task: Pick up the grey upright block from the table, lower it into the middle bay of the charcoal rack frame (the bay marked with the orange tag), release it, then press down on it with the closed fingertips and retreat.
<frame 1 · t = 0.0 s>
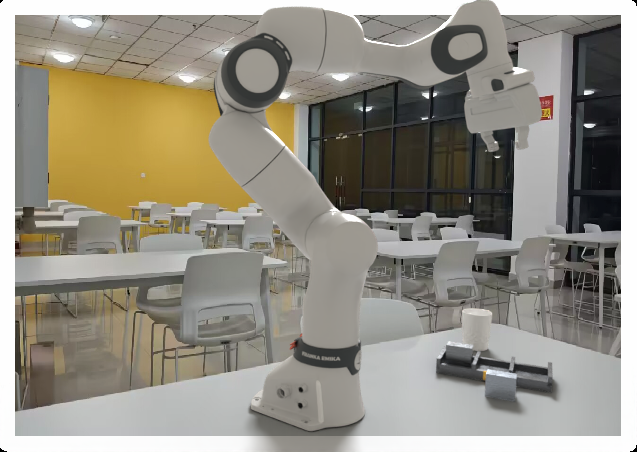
hand: (507, 149, 105), 52 cm above the table, tool tilted 20°, fingers open, 8 cm apart
grey upright block: (500, 396, 109), on the table
white cup: (475, 348, 141), on the table
rack: (493, 374, 121), on the table
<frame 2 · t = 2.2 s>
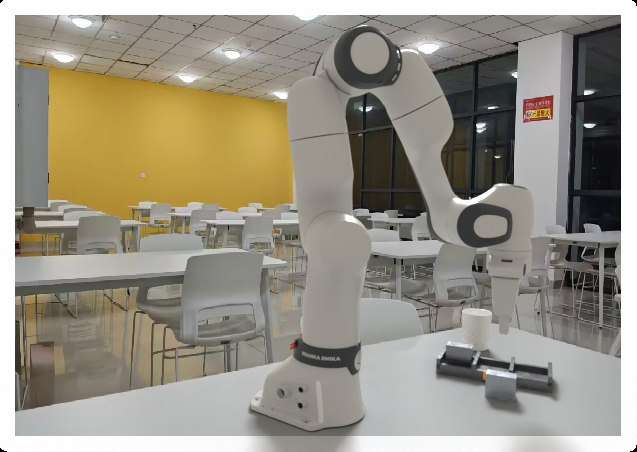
hand: (505, 327, 107), 15 cm above the table, tool pointing down, fingers open, 8 cm apart
nothing on the table moved.
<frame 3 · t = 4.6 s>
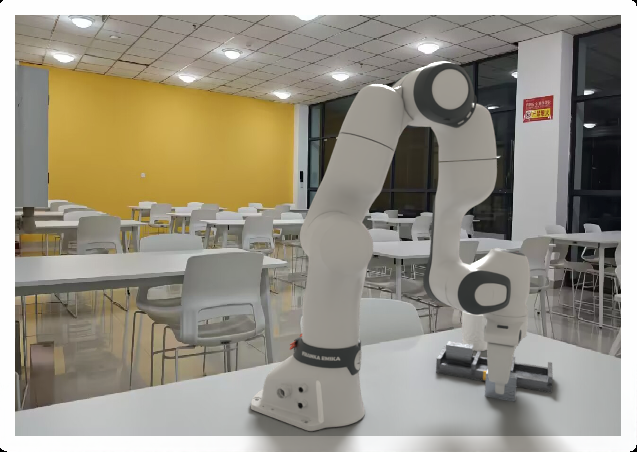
hand: (500, 388, 109), 2 cm above the table, tool pointing down, fingers closed on grey upright block, 3 cm apart
grey upright block: (500, 396, 109), on the table, touching gripper
everything else where it was.
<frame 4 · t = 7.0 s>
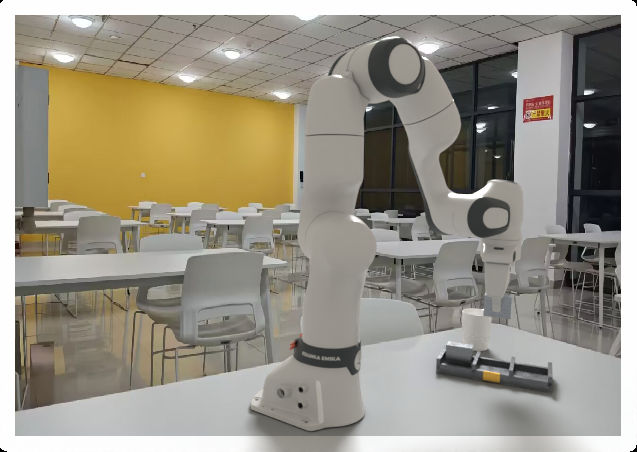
hand: (497, 309, 119), 16 cm above the table, tool pointing down, fingers closed on grey upright block, 3 cm apart
grey upright block: (497, 316, 119), point 14 cm above the table, touching gripper
everything else where it was.
when the fingers open (4 cm above the table, at t = 9.6 s): grey upright block drops 1 cm, resting on rack.
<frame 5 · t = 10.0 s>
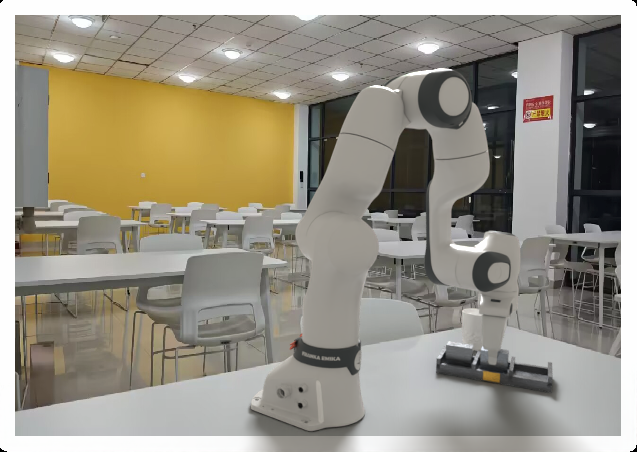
hand: (494, 358, 120), 4 cm above the table, tool pointing down, fingers open, 7 cm apart
grey upright block: (493, 370, 121), point 1 cm above the table, touching rack
everything else where it was.
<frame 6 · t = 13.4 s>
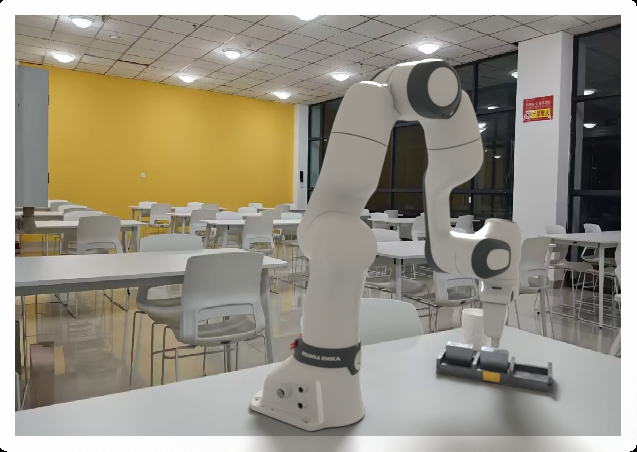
hand: (495, 346, 120), 7 cm above the table, tool pointing down, fingers closed
nothing on the table moved.
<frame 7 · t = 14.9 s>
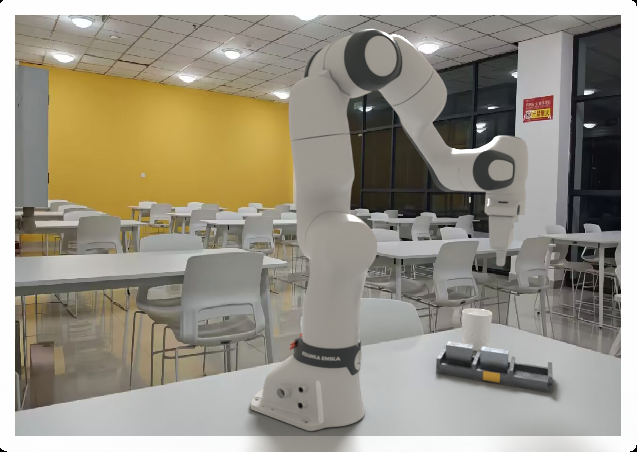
hand: (500, 265, 121), 26 cm above the table, tool pointing down, fingers closed
nothing on the table moved.
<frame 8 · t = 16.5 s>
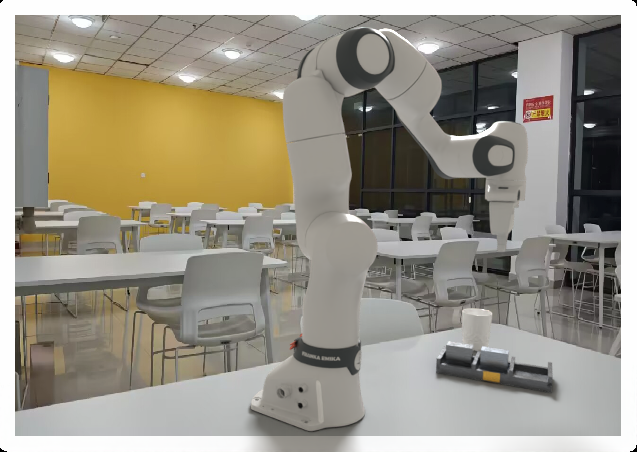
hand: (501, 251, 121), 29 cm above the table, tool pointing down, fingers closed
nothing on the table moved.
at the end: grey upright block 0.1 cm off-centre on the rack, point 1.0 cm above the rack's base; grey upright block tilted 0°; the gripper is holding nothing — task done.
